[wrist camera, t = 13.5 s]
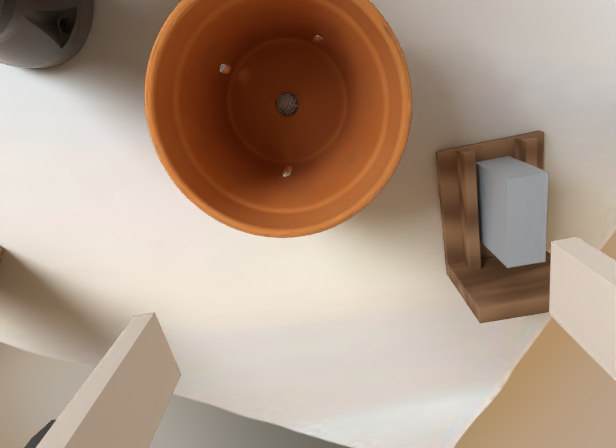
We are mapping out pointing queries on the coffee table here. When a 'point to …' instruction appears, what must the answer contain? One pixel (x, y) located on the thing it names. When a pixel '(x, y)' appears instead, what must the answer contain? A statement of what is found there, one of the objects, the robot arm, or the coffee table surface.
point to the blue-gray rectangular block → (512, 210)
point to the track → (465, 234)
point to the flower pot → (268, 119)
